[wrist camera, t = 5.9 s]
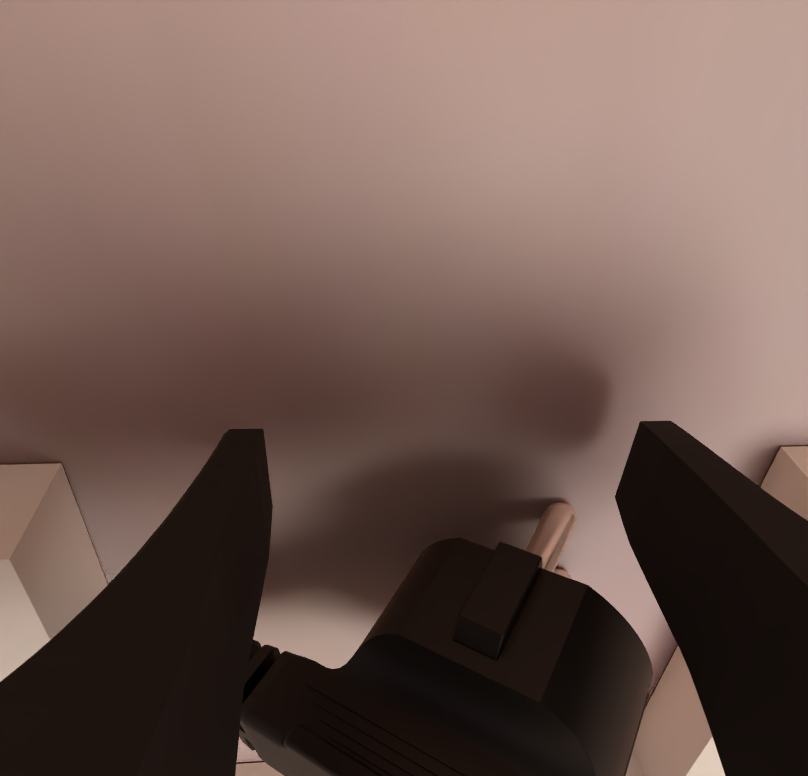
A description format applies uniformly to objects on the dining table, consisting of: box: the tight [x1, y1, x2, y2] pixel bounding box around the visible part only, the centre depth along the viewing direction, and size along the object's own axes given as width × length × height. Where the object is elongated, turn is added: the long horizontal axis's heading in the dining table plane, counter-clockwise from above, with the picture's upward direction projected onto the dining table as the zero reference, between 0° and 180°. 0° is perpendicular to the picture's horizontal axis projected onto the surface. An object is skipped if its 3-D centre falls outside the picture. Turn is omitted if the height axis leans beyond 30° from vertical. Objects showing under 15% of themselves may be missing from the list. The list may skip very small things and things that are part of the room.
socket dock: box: [0, 446, 808, 776], centre depth 17 cm, size 19×18×5 cm
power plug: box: [239, 502, 653, 776], centre depth 15 cm, size 6×8×12 cm
